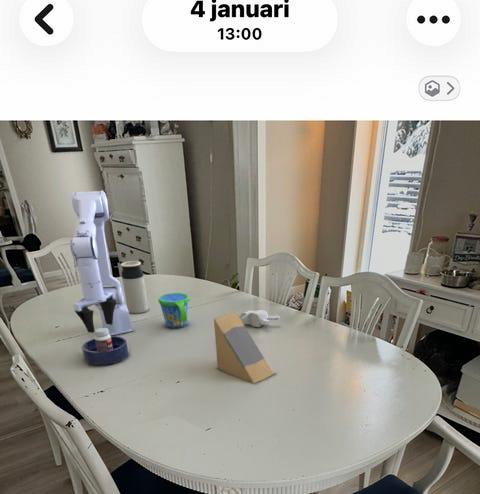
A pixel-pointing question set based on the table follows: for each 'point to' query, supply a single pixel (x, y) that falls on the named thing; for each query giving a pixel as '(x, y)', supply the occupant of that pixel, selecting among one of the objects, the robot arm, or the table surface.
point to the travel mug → (134, 287)
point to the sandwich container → (238, 350)
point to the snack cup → (174, 309)
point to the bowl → (105, 352)
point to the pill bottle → (103, 340)
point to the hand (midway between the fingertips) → (100, 327)
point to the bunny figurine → (257, 318)
